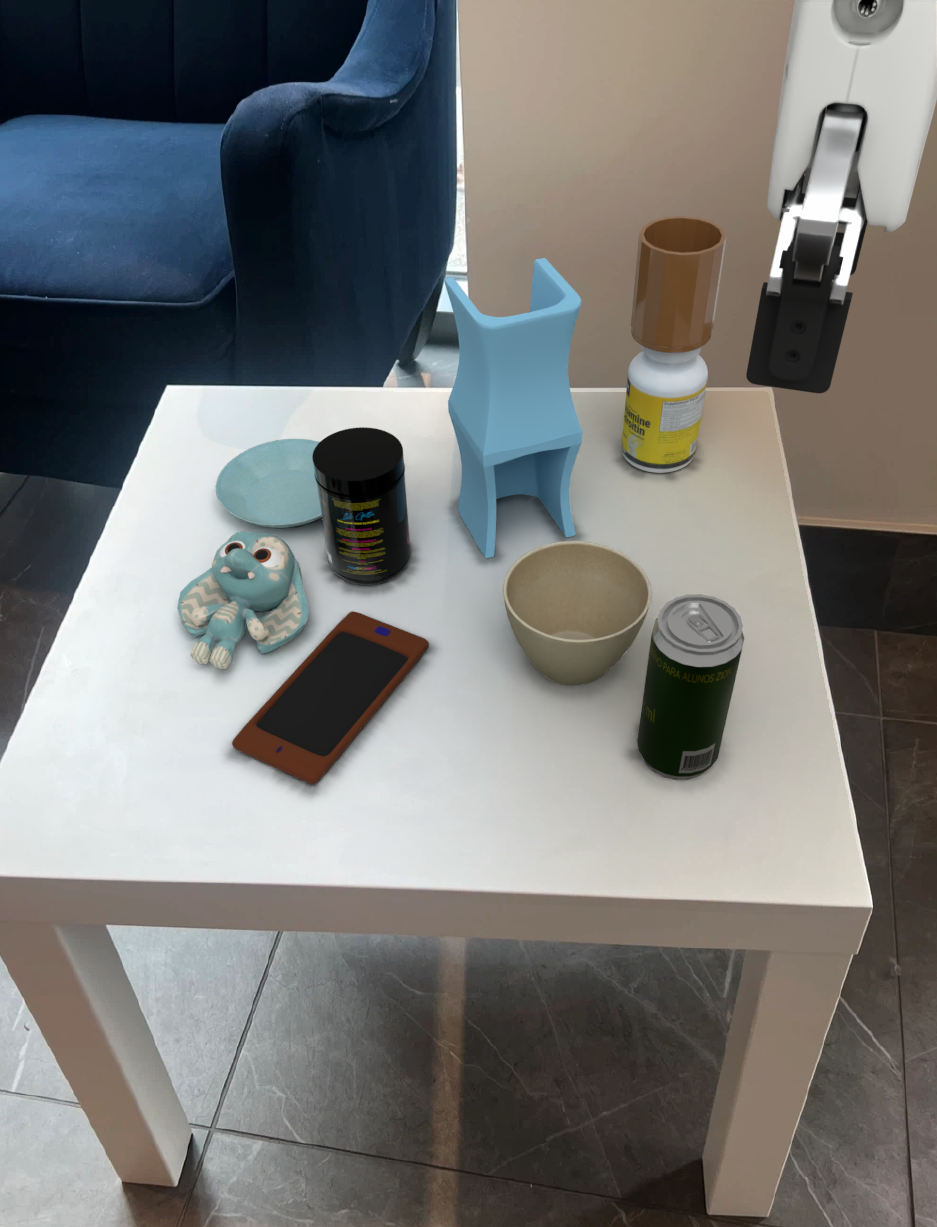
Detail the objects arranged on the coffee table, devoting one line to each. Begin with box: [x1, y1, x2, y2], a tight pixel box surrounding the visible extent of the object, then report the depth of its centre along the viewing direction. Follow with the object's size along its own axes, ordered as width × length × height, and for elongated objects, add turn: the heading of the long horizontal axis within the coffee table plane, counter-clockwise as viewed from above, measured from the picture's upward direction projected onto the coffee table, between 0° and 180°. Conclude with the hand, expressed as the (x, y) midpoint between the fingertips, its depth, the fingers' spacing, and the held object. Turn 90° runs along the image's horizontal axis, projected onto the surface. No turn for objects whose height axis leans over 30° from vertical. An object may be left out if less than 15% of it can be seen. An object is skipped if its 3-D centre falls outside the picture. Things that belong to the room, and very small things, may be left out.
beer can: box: [636, 593, 745, 781], centre depth 69 cm, size 5×5×12 cm
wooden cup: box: [630, 215, 728, 353], centre depth 85 cm, size 6×6×8 cm
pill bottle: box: [620, 345, 709, 474], centre depth 92 cm, size 6×6×12 cm
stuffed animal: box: [176, 530, 310, 670], centre depth 82 cm, size 11×7×12 cm
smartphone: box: [231, 610, 430, 785], centre depth 78 cm, size 7×1×15 cm
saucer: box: [215, 438, 322, 529], centre depth 94 cm, size 12×12×2 cm
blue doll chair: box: [443, 257, 583, 560], centre depth 84 cm, size 8×8×20 cm
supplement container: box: [312, 426, 412, 586], centre depth 85 cm, size 7×7×10 cm
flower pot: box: [502, 540, 653, 687], centre depth 77 cm, size 10×10×7 cm
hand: (803, 324), depth 47 cm, fingers open, 9 cm apart
